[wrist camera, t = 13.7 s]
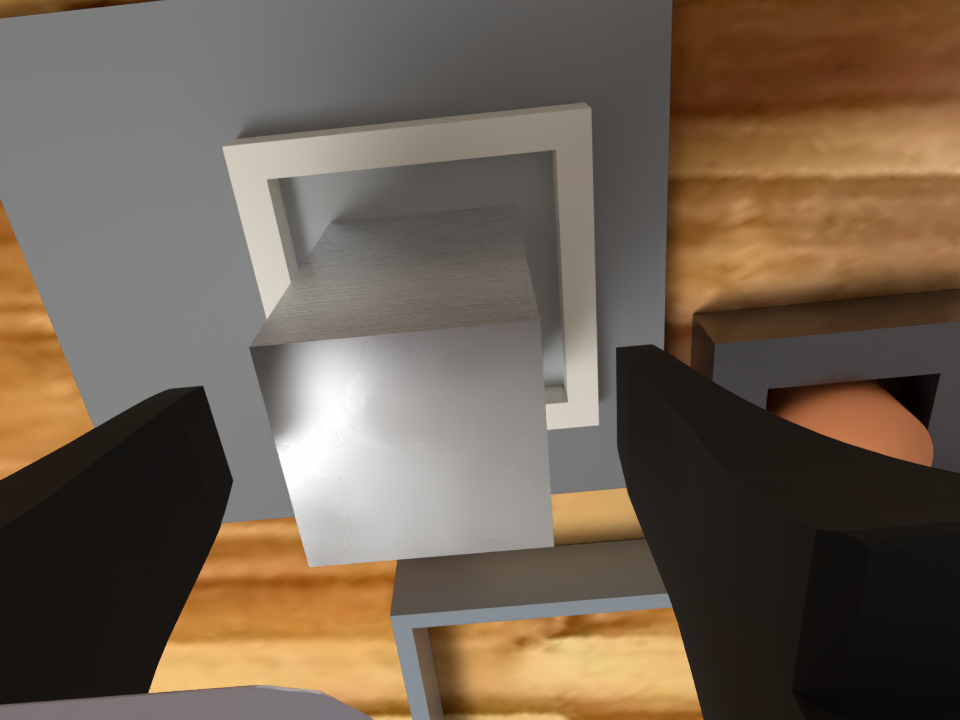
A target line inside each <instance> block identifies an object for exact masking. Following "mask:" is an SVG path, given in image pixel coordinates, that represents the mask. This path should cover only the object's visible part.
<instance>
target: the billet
mask: <svg viewBox="0 0 960 720" xmlns="http://www.w3.org/2000/svg"><path fill="white" fill-rule="evenodd" d="M249 349H250V353H251V356H252V360H253V364H254V367H255V371H256V375H257V378H258V382H259V386H260V389H261V393H262V397H263V400H264V404H265V408H266V411H267V415H268V419H269V422H270V426H271V430H272V433H273V437H274V441H275V444H276V448H277V451H278V455H279V459H280V462H281V466H282V470H283V473H284V477H285V481H286V484H287V488H288V492H289V495H290V499H291V503H292V506H293V510H294V514H295V517H296V521H297V525H298V528H299V532H300V536H301V539H302V543H303V547H304V550H305V554H306V558H307V561H308V565H309V567H315V566H327V565H339V564H351V563H363V562H375V561H387V560H399V559H411V558H423V557H435V556H448V555H460V554H472V553H484V552H496V551H508V550H520V549H532V548H544V547H554V535H553V519H552V503H551V486H550V470H549V454H548V438H547V421H546V405H545V389H544V372H543V356H542V340H541V324H540V317H539V312H538V308H537V303H536V299H535V295H534V290H533V286H532V281H531V277H530V273H529V268H528V264H527V260H526V255H525V251H524V246H523V242H522V238H521V233H520V229H519V224H518V220H517V216H516V211H515V207H514V204H511V205H500V206H490V207H480V208H470V209H460V210H450V211H439V212H429V213H419V214H409V215H399V216H389V217H378V218H368V219H358V220H348V221H338V222H330V223H329V225H328V226H327V228H326V229H325V231H324V232H323V234H322V235H321V237H320V238H319V240H318V242H317V243H316V245H315V246H314V248H313V249H312V251H311V252H310V254H309V255H308V257H307V258H306V260H305V262H304V263H303V265H302V266H301V268H300V269H299V271H298V272H297V274H296V275H295V277H294V278H293V280H292V282H291V283H290V285H289V286H288V288H287V289H286V291H285V292H284V294H283V295H282V297H281V299H280V300H279V302H278V303H277V305H276V306H275V308H274V309H273V311H272V312H271V314H270V315H269V317H268V319H267V320H266V322H265V323H264V325H263V326H262V328H261V329H260V331H259V332H258V334H257V336H256V337H255V339H254V340H253V342H252V343H251V345H250V346H249Z"/></svg>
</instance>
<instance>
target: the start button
mask: <svg viewBox="0 0 960 720" xmlns="http://www.w3.org/2000/svg"><path fill="white" fill-rule="evenodd" d="M766 410H767V411H769V412H771V413H773V414H775V415H777V416H779V417H782V418H784V419H786V420H788V421H791V422H793V423H796V424H798V425H800V426H803V427H805V428H808V429H810V430H813V431H815V432H818V433H820V434H823V435H825V436H828V437H831V438H834V439H837V440H839V441H842V442H845V443H848V444H851V445H854V446H858V447H861V448H864V449H867V450H871V451H874V452H877V453H880V454H883V455H887V456H890V457H894V458H898V459H902V460H905V461H909V462H913V463H917V464H921V465H925V466H929V467H931V465H932V461H933V444H932V440H931V437H930V435H929V433H928V431H927V429H926V428H925V426H924V425H923V424H922V423H921V422H920V421H919V420H918V419H917V418H916V417H914V416H913V415H912V414H911V413H910V412H909V411H908V410H907V409H906V408H905V407H904V406H902V405H901V404H900V403H899V402H898V401H897V400H896V399H895V398H894V397H893V396H892V395H891V394H889V393H888V392H887V391H886V390H885V389H884V388H883V387H882V386H881V385H880V384H879V383H877V382H876V381H875V380H874V379H871V380H860V381H849V382H838V383H827V384H816V385H805V386H794V387H783V388H774V389H773V390H772V391H771V392H770V393H769V394H768V395H767V401H766Z"/></svg>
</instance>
